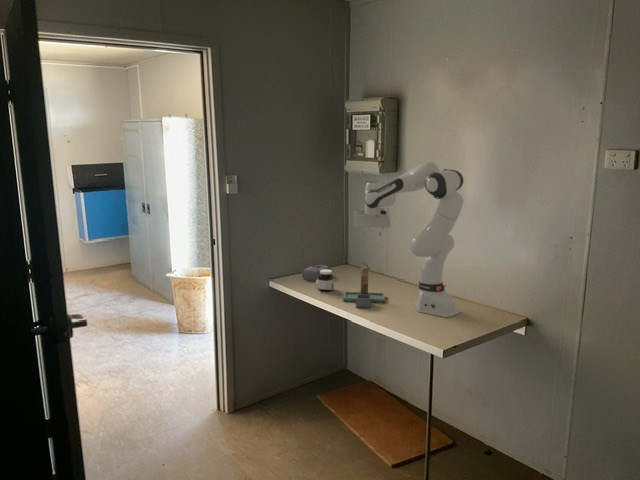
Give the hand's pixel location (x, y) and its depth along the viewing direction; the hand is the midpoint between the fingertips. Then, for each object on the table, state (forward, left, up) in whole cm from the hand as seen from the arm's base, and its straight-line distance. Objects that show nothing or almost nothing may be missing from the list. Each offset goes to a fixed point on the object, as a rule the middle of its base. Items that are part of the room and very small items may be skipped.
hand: (371, 235), depth 286 cm
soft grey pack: (+44, 0, -34) cm, 55 cm away
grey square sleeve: (-14, +22, -33) cm, 42 cm away
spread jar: (+22, +16, -33) cm, 43 cm away
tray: (-6, +13, -33) cm, 36 cm away
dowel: (-6, +13, -32) cm, 35 cm away
